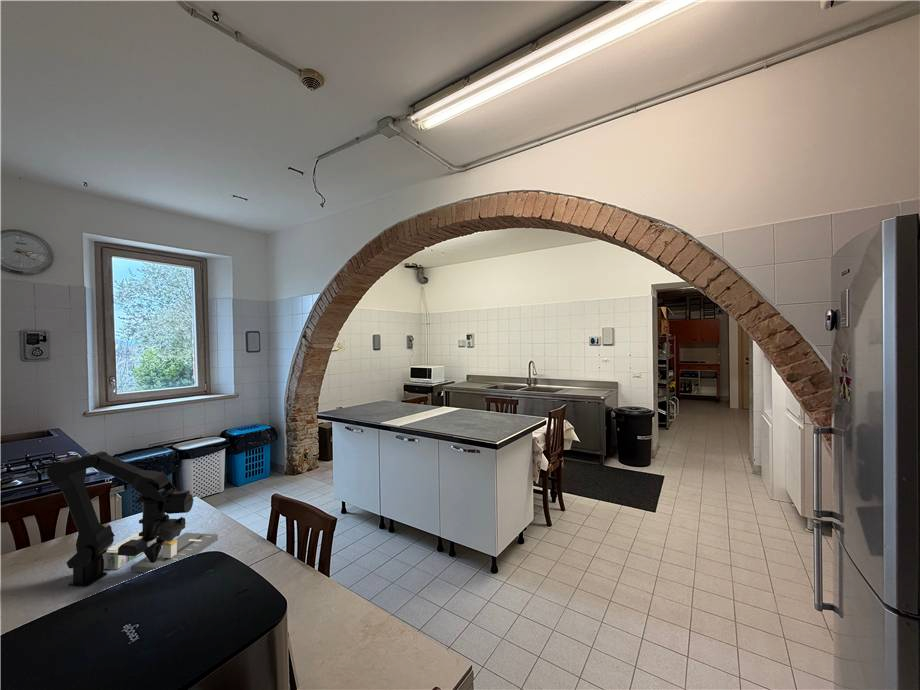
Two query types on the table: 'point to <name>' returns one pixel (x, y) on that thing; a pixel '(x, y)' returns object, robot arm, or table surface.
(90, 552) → the robot arm
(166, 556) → the fader
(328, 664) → the table surface
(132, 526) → the table surface
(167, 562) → the console
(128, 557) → the syrup box
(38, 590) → the table surface
